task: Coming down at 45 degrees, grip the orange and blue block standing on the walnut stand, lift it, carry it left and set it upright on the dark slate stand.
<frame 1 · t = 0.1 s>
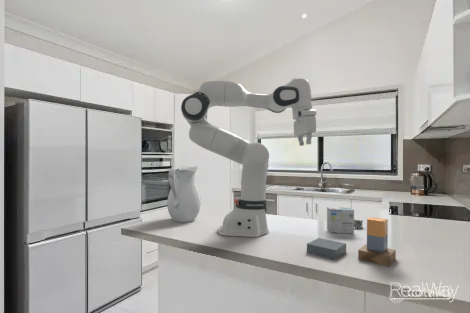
hand: (305, 145, 125), 39 cm above the counter, tool pointing down, fingers open, 8 cm apart
stand b: (326, 252, 96), on the counter
light bulb box: (339, 232, 126), on the counter
stand a: (376, 259, 90), on the counter
orange and blue block: (377, 249, 90), point 3 cm above the counter, touching stand a
pitcher: (180, 221, 140), on the counter
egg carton: (350, 227, 136), on the counter
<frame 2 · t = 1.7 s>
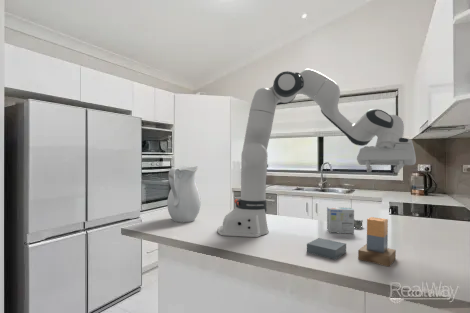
hand: (382, 171, 104), 28 cm above the counter, tool tilted 45°, fingers open, 8 cm apart
nothing on the counter moved.
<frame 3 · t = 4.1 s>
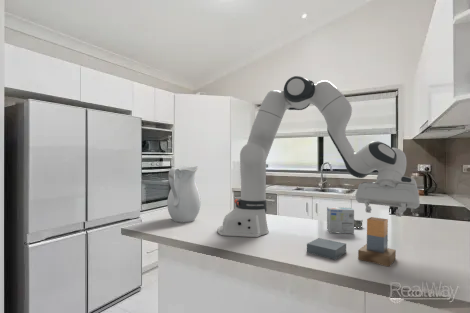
hand: (382, 213, 96), 14 cm above the counter, tool tilted 45°, fingers open, 8 cm apart
nothing on the counter moved.
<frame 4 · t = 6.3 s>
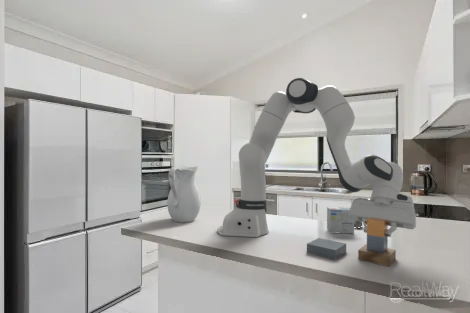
hand: (376, 233, 90), 8 cm above the counter, tool tilted 45°, fingers closed on orange and blue block, 5 cm apart
orange and blue block: (377, 249, 90), point 3 cm above the counter, touching gripper, stand a
everything else where it was.
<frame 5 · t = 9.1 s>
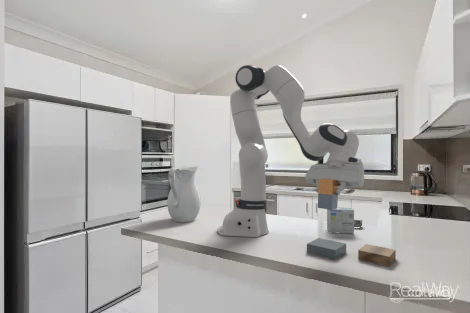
hand: (327, 192, 96), 21 cm above the counter, tool tilted 45°, fingers closed on orange and blue block, 5 cm apart
orange and blue block: (327, 208, 96), point 15 cm above the counter, touching gripper
everything else where it was.
when the fingers open (10 cm above the counter, at t = 11.8 s): orange and blue block drops 1 cm, resting on stand b.
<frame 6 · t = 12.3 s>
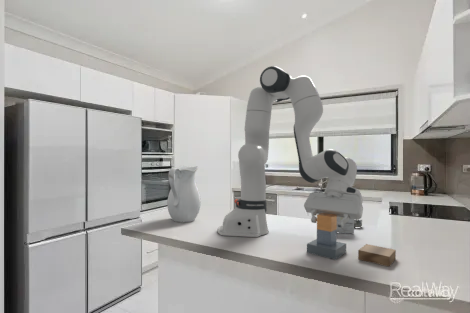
hand: (326, 224, 96), 10 cm above the counter, tool tilted 45°, fingers open, 8 cm apart
orange and blue block: (326, 243, 96), point 3 cm above the counter, touching stand b
everything else where it was.
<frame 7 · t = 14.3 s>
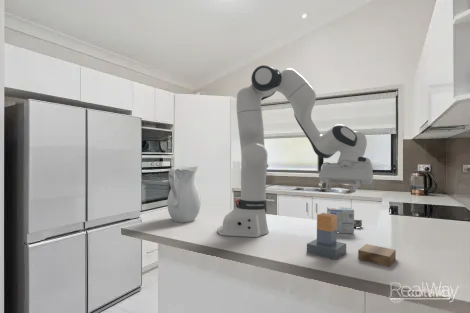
hand: (340, 190, 106), 21 cm above the counter, tool tilted 40°, fingers open, 8 cm apart
nothing on the counter moved.
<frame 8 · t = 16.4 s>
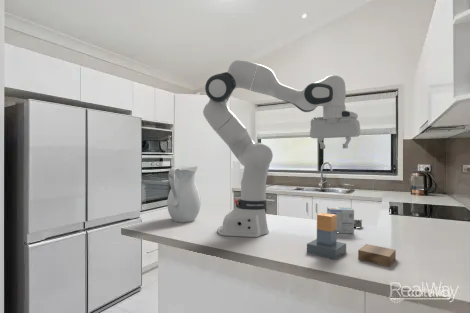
hand: (333, 148, 115), 37 cm above the counter, tool pointing down, fingers open, 8 cm apart
nothing on the counter moved.
at the end: orange and blue block inside the target area on the stand b (0.0 cm from its centre), point 3.0 cm above the stand b's base; orange and blue block tilted 0°; the gripper is holding nothing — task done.
